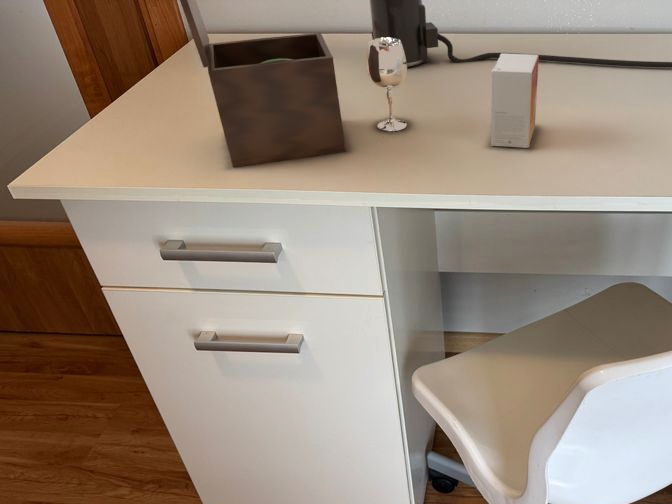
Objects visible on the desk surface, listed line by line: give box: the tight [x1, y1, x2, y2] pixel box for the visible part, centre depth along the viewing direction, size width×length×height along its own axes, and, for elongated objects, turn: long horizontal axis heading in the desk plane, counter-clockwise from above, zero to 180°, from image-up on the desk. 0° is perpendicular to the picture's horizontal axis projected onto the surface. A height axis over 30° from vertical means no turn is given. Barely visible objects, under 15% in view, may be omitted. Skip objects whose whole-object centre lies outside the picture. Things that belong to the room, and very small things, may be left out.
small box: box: [490, 52, 540, 149], centre depth 95 cm, size 8×6×10 cm
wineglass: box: [365, 37, 408, 132], centre depth 98 cm, size 6×6×12 cm
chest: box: [207, 32, 347, 168], centre depth 94 cm, size 16×12×13 cm
